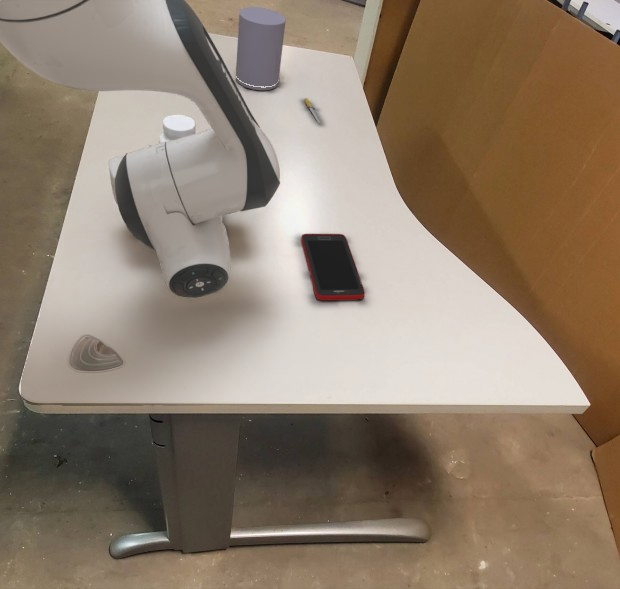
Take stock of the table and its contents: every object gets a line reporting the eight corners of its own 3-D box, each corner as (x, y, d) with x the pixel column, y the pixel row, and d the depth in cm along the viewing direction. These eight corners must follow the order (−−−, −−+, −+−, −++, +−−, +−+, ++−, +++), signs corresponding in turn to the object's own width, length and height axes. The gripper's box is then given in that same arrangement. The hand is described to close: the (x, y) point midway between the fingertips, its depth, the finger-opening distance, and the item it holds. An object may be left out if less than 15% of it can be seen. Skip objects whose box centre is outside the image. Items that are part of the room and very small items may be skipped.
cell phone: (343, 237, 90) (344, 233, 89) (365, 300, 80) (366, 295, 79) (299, 237, 88) (300, 233, 87) (316, 301, 78) (317, 296, 77)
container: (277, 75, 131) (285, 11, 121) (278, 94, 124) (286, 27, 114) (236, 69, 130) (240, 4, 119) (234, 88, 123) (238, 20, 112)
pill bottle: (152, 186, 83) (147, 121, 75) (177, 170, 87) (175, 107, 79) (183, 201, 82) (182, 137, 74) (207, 185, 86) (209, 122, 78)
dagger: (324, 122, 117) (316, 121, 116) (322, 126, 118) (315, 124, 117) (310, 98, 124) (302, 96, 123) (308, 101, 124) (301, 99, 123)
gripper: (263, 183, 72) (247, 131, 81) (106, 185, 67) (107, 129, 76) (259, 219, 77) (244, 166, 86) (112, 224, 71) (112, 167, 80)
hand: (179, 149), depth 81 cm, fingers closed on pill bottle, 6 cm apart
